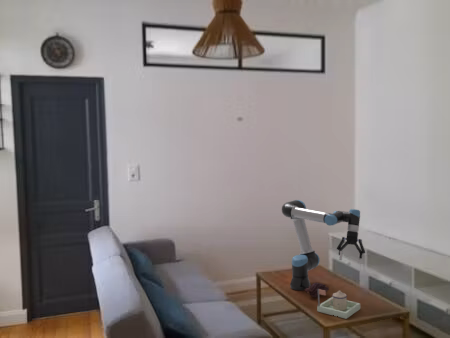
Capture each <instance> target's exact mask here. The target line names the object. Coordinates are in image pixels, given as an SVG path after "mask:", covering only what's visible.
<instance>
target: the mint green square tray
mask: <svg viewBox="0 0 450 338" xmlns="http://www.w3.org/2000/svg"><path fill="white" fill-rule="evenodd" d="M319 294H321V296H327V292H326V291H325V290H320V289H318V296H317V308H316V309H317V310H316V311H317V312H319V313H321V314H327V315H331V316H333V315H334V317H337V316H338V317H337V318H342V319H345V320H346V319H348V318H350V317H351V316H352V315H353V314H355V313H357V312H358V311H359V310H361V303H359V302H356V301H351V300H347V309H346V310H344V311H339V310H335V309H333V306H331V305H333V300H331V305H330V304H329V300H330V299H332V298H333V296H331V297H330V298H327V300H325V301H323V302H321V301H320V295H319ZM320 302H321V303H320Z"/></svg>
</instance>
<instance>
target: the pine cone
mask: <svg viewBox="0 0 450 338" xmlns="http://www.w3.org/2000/svg"><path fill="white" fill-rule="evenodd" d="M318 289H320V290H325V291H326V293H327V292H328V291H329V289H330V288H329V287H328V286H326V284H323V283H320V282H315V283H314V282H313V284H311V286H309V288H306V289H305V290H304V291H305V292H306V293H307V294H308V295H309V296H311V297H312V298H318ZM320 295H321V294H319V296H320ZM321 296H322V295H321Z"/></svg>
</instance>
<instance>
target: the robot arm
mask: <svg viewBox="0 0 450 338" xmlns="http://www.w3.org/2000/svg"><path fill="white" fill-rule="evenodd" d="M281 213H282V214H283V215H284V216H285V217H287V218H290V220H291V221H293V225H294V229H295V234H296V236H297V241H298V246H299V249H300V252H299V254H297V255H294V256H293V257H292V258H291V271H292V275H291V276H292V277H291V280H290V286H289V287H290V289H292V290H295V291H306V290H305V289H306V288H309V286H311V285H312V284H311V282H310V279H309V271H311V270H313V269H316V268H318V266H319V264H320V261H321V260H320V257H319V255H318V253H316V251H315V249H313V248H312V244H311V239H310V235H309V232H308V228H307V224H306V221H305V220H308V221H313V222H317V223H323V224H326V225H327V226H335V225H337V224H340V223H347V231H346V237H345V236H341V240H340V242H339V244H337V245H338V246H337V247H336V250H338V256H339V258H338V261H342V260H343V254H344V251H343V250H344V249H345V248H346V247H347V246H348V245H354V246H355V248H356V250H357V252H359V253H357V254H358V256H357V264H361V259H363V254H366V250H365V247H364V244H363V239H361V238H359V227H360V220H361V211H360V210H359V209H354V208H351V209H349V211H344V210H343V211H342V210H335V211H333V212H332V213H331V212H324V211H319V210H315V209H310V208H309V209H307V206H306V204H305V202H303V201H302V200H300V199H295V200H291V201H286V202H285V203H284V204H283V205H282V206H281Z"/></svg>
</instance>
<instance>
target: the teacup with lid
mask: <svg viewBox="0 0 450 338" xmlns="http://www.w3.org/2000/svg"><path fill="white" fill-rule="evenodd" d="M331 297H333V298H332V299H330V298H329V299H330V300H329V304H330V305H331V300H333V305H331V306H333V309H335V310H339V311H344V310H346V309H347V301H348V299H347V297H348V295H347V294H346V293H345V292H342V291H341V290H338V291H336V292H333V293H332V295H331Z"/></svg>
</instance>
